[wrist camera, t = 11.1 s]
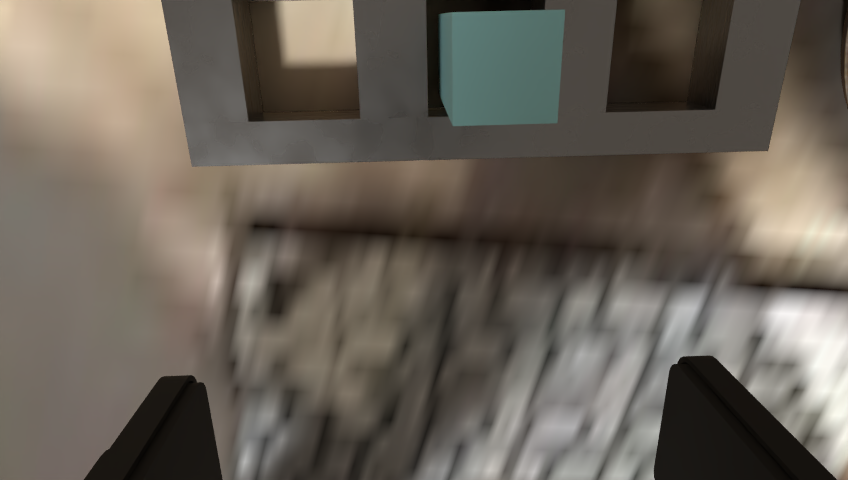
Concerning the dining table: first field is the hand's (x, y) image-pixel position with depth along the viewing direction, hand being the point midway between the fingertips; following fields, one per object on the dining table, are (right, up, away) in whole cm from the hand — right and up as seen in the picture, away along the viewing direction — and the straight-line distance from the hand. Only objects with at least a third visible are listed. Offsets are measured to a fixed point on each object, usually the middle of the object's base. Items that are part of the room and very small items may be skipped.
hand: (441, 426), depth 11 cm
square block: (+2, +14, +18) cm, 23 cm away
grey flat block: (+2, +14, +18) cm, 23 cm away
